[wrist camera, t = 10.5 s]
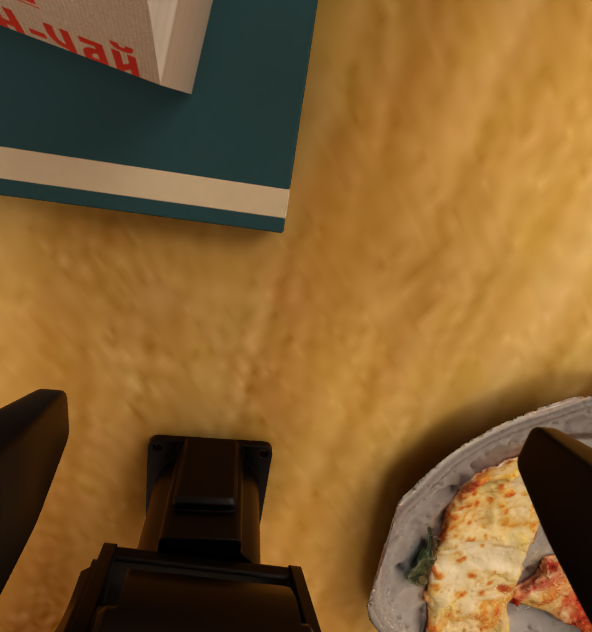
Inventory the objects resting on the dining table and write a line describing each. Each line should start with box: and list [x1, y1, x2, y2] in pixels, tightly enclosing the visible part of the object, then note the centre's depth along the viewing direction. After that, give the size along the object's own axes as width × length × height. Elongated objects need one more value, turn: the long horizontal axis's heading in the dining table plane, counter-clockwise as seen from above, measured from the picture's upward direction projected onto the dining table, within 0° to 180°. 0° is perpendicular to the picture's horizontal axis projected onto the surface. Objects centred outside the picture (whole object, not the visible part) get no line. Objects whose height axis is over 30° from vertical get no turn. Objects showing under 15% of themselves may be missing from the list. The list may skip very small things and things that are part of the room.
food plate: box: [367, 396, 592, 632], centre depth 28 cm, size 25×23×4 cm
